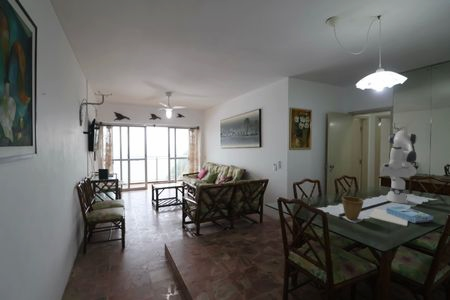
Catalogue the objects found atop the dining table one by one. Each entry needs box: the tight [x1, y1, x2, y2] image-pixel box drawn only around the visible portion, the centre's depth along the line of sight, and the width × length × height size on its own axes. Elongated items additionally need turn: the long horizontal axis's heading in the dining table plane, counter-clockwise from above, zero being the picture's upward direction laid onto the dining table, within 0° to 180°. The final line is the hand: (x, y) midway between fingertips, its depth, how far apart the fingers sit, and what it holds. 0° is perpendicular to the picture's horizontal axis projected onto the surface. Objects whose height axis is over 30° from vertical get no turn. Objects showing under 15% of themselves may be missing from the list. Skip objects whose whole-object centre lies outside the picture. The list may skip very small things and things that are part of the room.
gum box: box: [385, 205, 434, 224], centre depth 178 cm, size 19×5×23 cm
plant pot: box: [341, 196, 364, 221], centre depth 173 cm, size 15×15×16 cm
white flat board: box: [368, 208, 409, 227], centre depth 179 cm, size 28×24×1 cm
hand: (394, 181), depth 185 cm, fingers closed
